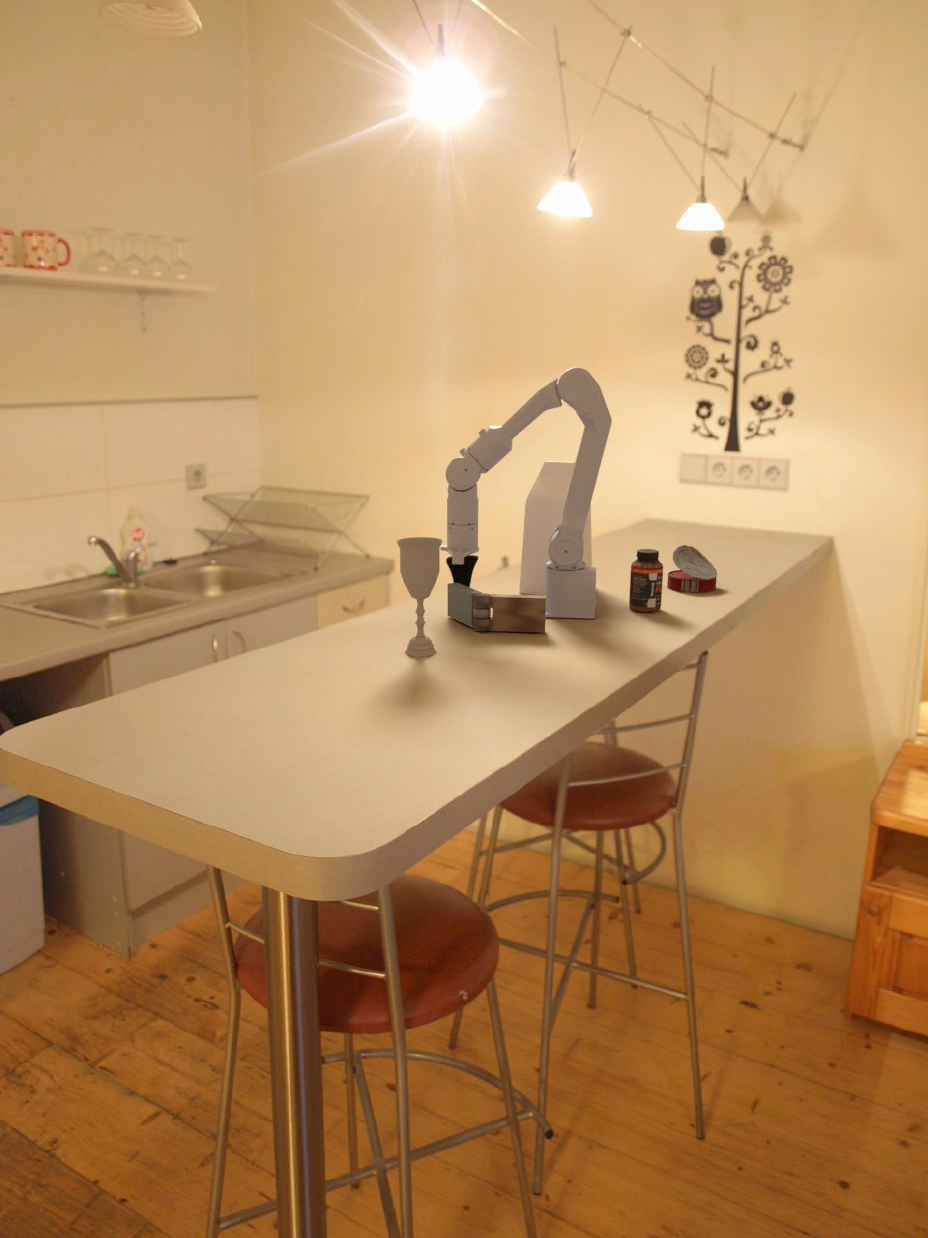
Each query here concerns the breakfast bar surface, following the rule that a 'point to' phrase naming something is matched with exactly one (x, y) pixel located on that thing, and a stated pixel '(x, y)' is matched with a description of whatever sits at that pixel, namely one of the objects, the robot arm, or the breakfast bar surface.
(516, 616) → the fixed leaf
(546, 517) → the milk
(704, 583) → the canned food
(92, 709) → the breakfast bar surface
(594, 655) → the breakfast bar surface
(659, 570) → the supplement bottle
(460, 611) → the swing leaf
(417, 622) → the chalice
